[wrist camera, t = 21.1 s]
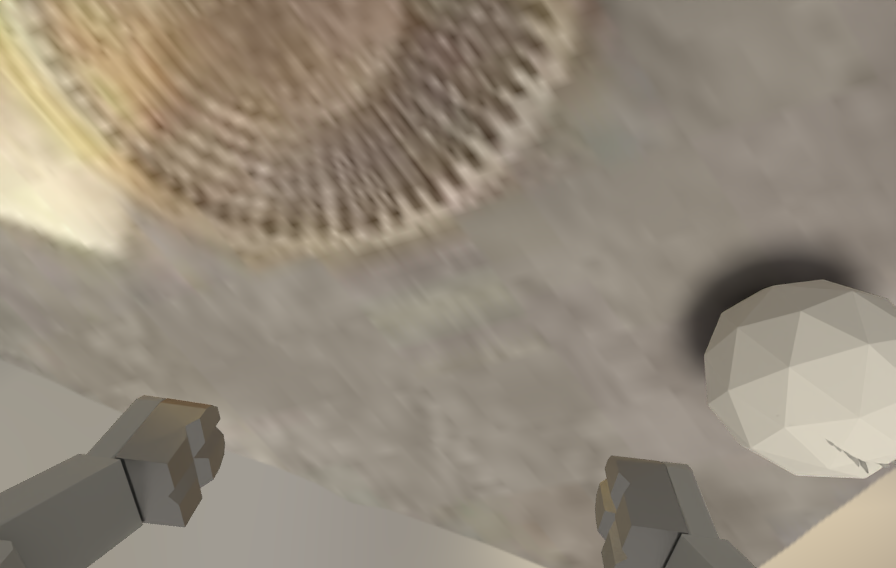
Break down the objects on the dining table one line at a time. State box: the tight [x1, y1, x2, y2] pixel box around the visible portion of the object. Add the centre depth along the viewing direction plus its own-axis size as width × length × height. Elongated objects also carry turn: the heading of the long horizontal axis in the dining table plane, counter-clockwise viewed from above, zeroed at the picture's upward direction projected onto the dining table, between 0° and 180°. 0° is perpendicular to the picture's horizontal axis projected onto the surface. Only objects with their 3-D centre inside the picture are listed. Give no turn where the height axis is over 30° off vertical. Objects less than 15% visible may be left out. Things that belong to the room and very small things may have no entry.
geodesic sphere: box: [704, 279, 896, 478], centre depth 36 cm, size 14×14×14 cm
